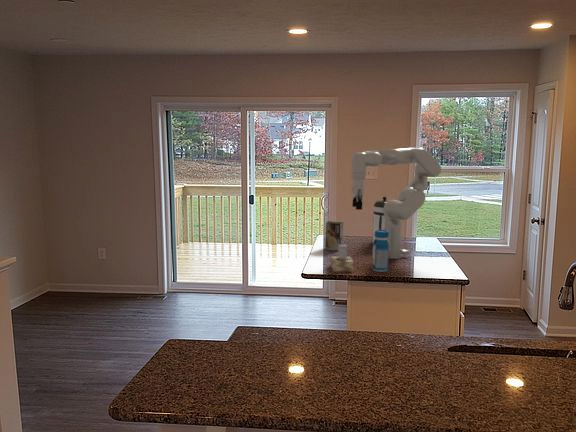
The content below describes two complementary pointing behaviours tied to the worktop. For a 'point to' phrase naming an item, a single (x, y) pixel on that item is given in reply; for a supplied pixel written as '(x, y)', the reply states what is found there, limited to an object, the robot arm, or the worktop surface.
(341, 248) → the peg
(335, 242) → the coffee box
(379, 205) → the coffee press
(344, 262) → the socket block
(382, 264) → the beverage bottle
